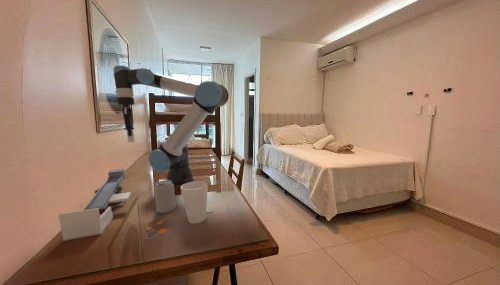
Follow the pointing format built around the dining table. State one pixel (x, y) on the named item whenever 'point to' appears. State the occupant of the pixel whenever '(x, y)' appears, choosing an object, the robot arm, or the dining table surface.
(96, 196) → the lever
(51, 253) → the dining table surface
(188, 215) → the foam cup
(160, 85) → the robot arm
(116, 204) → the fulcrum
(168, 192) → the can
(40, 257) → the dining table surface
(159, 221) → the key chain
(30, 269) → the dining table surface
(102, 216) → the white rectangular box
